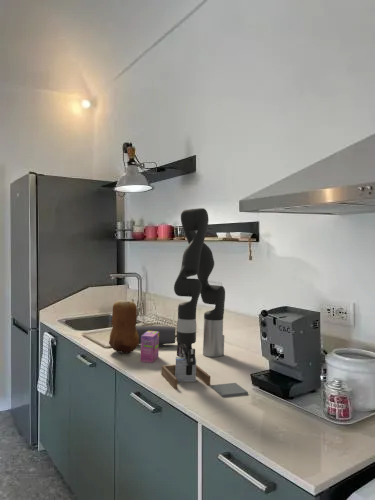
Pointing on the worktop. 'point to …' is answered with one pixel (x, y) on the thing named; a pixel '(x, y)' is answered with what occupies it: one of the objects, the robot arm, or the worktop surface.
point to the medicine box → (184, 371)
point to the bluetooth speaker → (164, 333)
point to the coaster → (229, 389)
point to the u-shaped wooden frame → (168, 373)
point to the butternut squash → (124, 327)
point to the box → (149, 346)
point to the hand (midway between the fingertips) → (185, 371)
